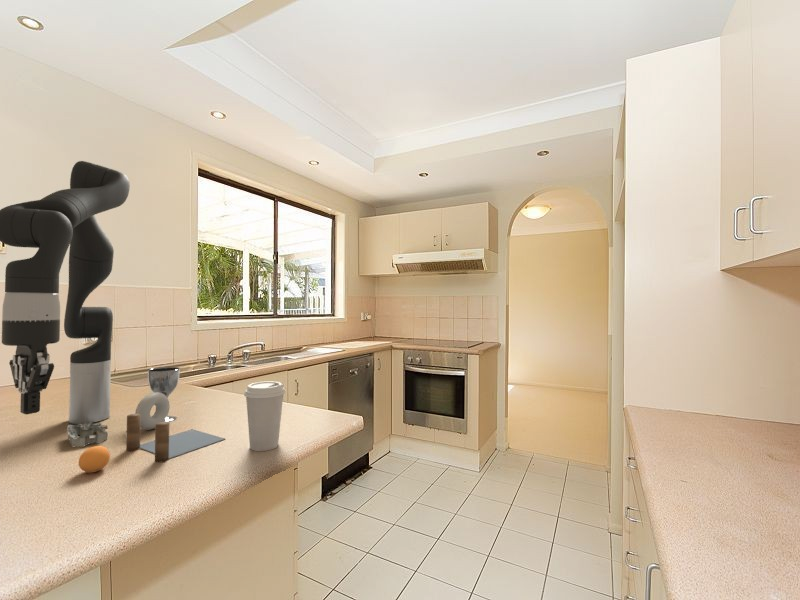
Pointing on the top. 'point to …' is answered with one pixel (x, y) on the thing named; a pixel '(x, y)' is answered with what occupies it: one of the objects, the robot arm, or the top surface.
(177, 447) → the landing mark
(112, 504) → the top surface
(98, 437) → the egg carton
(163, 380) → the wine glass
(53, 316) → the robot arm
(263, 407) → the coffee cup
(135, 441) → the post
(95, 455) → the ball
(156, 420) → the donut
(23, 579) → the top surface
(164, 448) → the post
